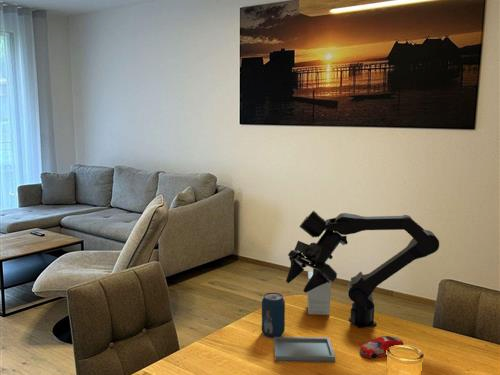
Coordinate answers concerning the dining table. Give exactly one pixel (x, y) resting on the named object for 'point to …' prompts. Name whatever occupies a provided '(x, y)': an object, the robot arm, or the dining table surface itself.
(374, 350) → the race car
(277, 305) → the soda can
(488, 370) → the dining table surface
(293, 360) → the tray
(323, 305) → the supplement box
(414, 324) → the dining table surface
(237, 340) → the dining table surface
